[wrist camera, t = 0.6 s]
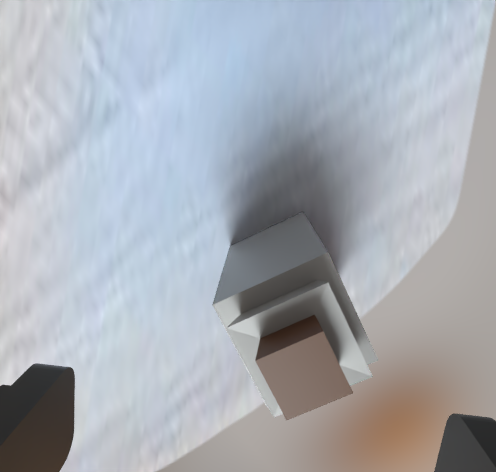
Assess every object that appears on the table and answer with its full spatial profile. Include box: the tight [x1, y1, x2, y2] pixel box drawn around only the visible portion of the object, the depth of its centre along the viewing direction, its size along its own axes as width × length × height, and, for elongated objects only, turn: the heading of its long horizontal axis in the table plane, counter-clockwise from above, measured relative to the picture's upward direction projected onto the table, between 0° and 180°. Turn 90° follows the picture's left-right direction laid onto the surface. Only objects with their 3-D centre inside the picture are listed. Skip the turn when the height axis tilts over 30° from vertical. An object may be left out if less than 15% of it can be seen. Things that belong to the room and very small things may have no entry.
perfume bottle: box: [213, 212, 378, 420], centre depth 28 cm, size 7×7×18 cm
